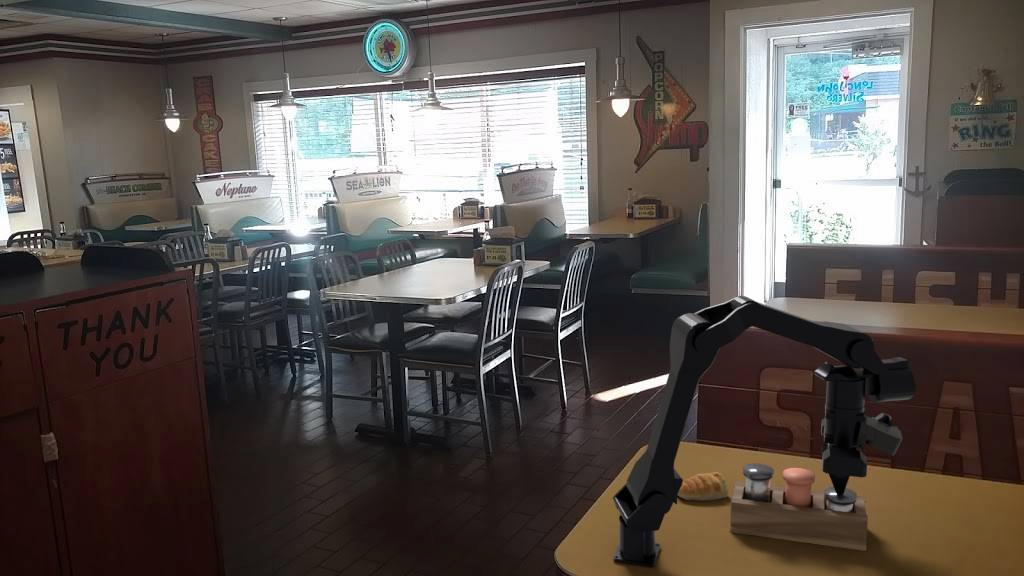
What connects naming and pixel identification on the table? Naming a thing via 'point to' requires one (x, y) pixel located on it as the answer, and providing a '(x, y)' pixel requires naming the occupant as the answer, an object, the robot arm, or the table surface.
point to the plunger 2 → (840, 500)
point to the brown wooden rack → (799, 519)
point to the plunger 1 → (758, 482)
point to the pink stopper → (798, 486)
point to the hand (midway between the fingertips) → (839, 493)
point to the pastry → (704, 487)
